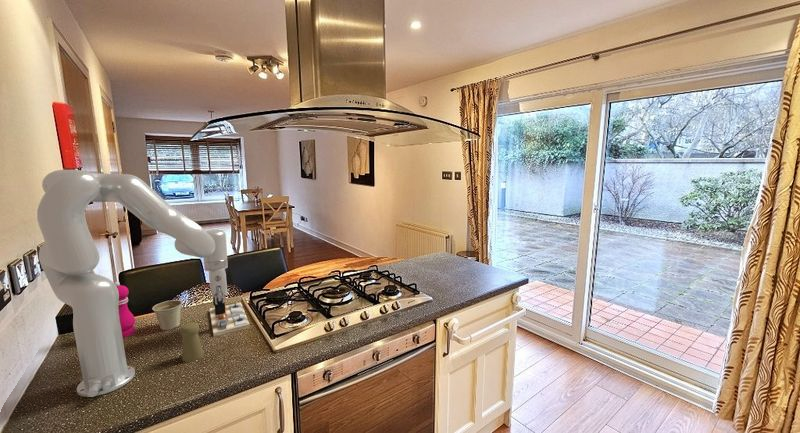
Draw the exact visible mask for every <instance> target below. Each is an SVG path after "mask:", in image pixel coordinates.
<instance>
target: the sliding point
mask: <svg viewBox="0 0 800 433" xmlns="http://www.w3.org/2000/svg"><path fill="white" fill-rule="evenodd" d="M217 316H218V317H217V324H218V326H220V322H224V321H226V323H227V324H228V318H233V317H237V316H239V319H241V315H240V313H239V314H234V315H230V316H227V314H226V304H225V313H224V314H219V315H217Z"/></svg>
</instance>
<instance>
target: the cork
mask: <svg viewBox="0 0 800 433" xmlns="http://www.w3.org/2000/svg"><path fill="white" fill-rule="evenodd" d="M199 331H200V325H199V324H198V323H197V322H188V323H185V324H183V325H181V327H180V330H179V332H180V335H181V336H182V351H181V352H182V354H181V355H182V356H181V360H182V361H183V362H185V363H187V362H189V363H190V362H194V361H197V360H200V359H201V358H202V357H203V356H204V355H205V353H204V350H203V346H202V342H201V339H200V336H199Z"/></svg>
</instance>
